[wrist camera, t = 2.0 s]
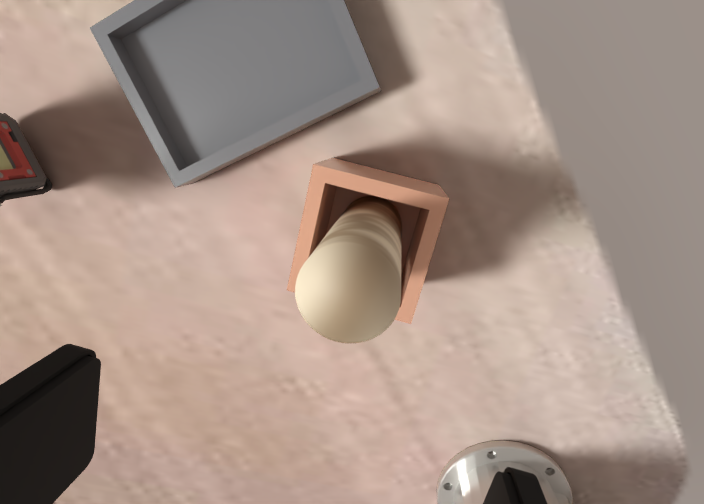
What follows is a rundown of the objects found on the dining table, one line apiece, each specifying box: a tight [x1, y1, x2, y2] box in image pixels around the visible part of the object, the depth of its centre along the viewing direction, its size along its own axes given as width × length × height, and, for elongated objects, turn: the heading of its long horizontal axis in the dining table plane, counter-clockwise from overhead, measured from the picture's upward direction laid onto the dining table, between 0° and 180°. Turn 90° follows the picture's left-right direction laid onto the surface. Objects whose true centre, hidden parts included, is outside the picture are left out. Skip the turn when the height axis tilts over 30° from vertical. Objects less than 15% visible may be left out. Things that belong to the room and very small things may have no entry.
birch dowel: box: [295, 196, 402, 343], centre depth 28 cm, size 5×5×16 cm
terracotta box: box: [287, 158, 449, 324], centre depth 33 cm, size 9×9×8 cm
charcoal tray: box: [90, 0, 381, 187], centre depth 33 cm, size 18×13×3 cm
